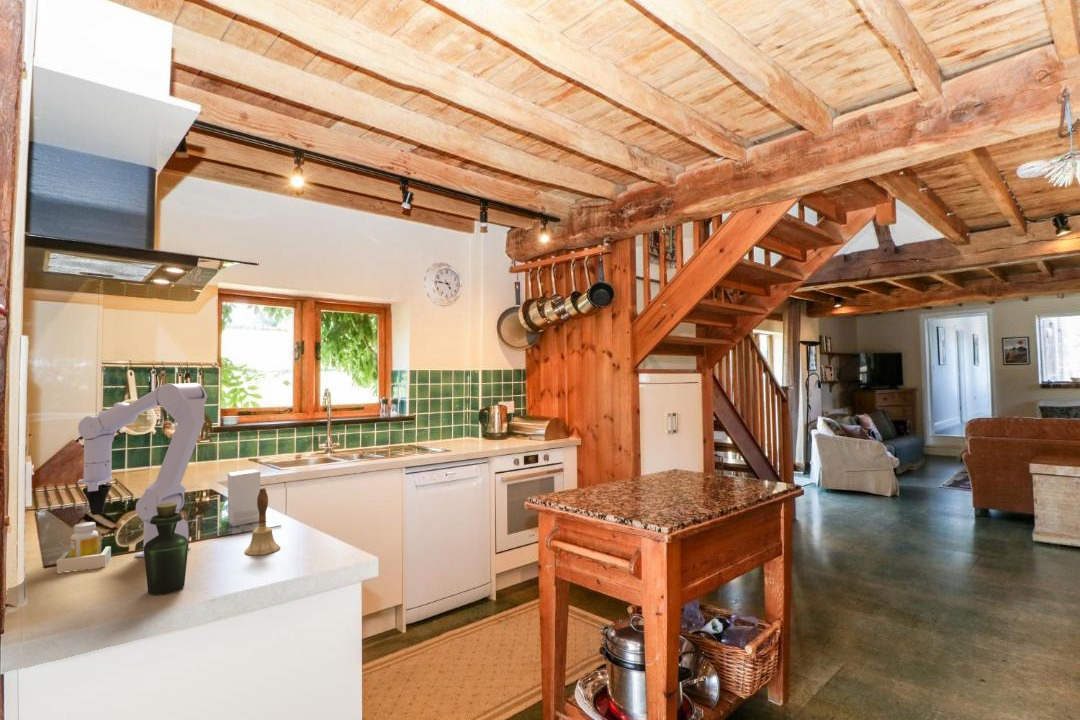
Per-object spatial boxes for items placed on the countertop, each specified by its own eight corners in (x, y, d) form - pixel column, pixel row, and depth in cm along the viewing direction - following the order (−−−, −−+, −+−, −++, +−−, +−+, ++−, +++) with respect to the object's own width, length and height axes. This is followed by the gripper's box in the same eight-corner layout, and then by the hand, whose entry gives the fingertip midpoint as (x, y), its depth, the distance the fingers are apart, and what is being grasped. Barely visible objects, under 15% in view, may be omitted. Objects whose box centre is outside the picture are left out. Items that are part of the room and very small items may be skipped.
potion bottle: (194, 588, 122) (194, 504, 122) (149, 600, 116) (149, 511, 116) (181, 579, 127) (182, 498, 127) (138, 590, 121) (138, 505, 121)
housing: (64, 564, 138) (64, 551, 138) (110, 558, 142) (110, 546, 142) (56, 573, 131) (56, 560, 131) (105, 567, 136) (105, 554, 136)
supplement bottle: (64, 568, 135) (65, 527, 135) (78, 560, 140) (79, 521, 141) (90, 566, 136) (90, 526, 136) (103, 559, 141) (103, 520, 142)
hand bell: (240, 550, 148) (241, 488, 148) (274, 543, 153) (275, 484, 154) (249, 558, 142) (249, 493, 142) (284, 551, 147) (284, 489, 147)
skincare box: (256, 517, 181) (256, 468, 181) (261, 522, 176) (261, 471, 176) (226, 522, 175) (226, 471, 176) (231, 527, 170) (231, 474, 170)
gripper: (83, 459, 153) (83, 510, 153) (72, 467, 140) (71, 522, 140) (116, 457, 156) (115, 506, 156) (108, 464, 144) (107, 518, 144)
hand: (97, 514), depth 148 cm, fingers closed
